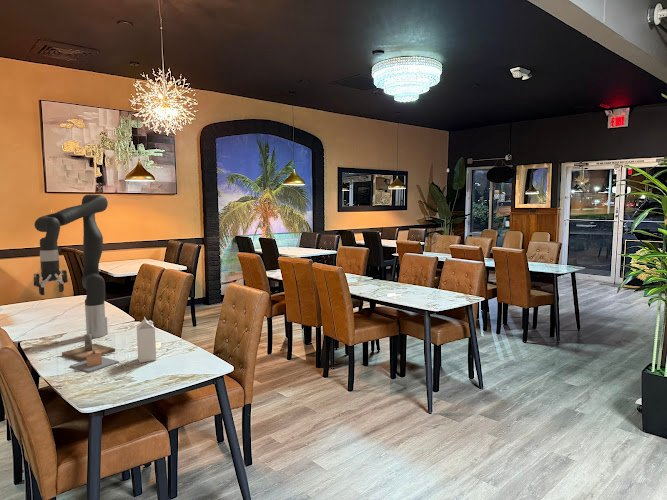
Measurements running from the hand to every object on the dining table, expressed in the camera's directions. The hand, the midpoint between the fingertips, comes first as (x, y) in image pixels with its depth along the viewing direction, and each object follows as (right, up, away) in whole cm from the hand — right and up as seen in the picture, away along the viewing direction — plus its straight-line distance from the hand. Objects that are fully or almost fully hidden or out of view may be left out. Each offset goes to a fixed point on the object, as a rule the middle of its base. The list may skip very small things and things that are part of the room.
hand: (51, 293), depth 217 cm
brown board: (+18, -28, 0) cm, 33 cm away
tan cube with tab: (+28, -29, -16) cm, 44 cm away
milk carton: (+49, -29, -9) cm, 57 cm away
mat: (+29, -30, -16) cm, 44 cm away
